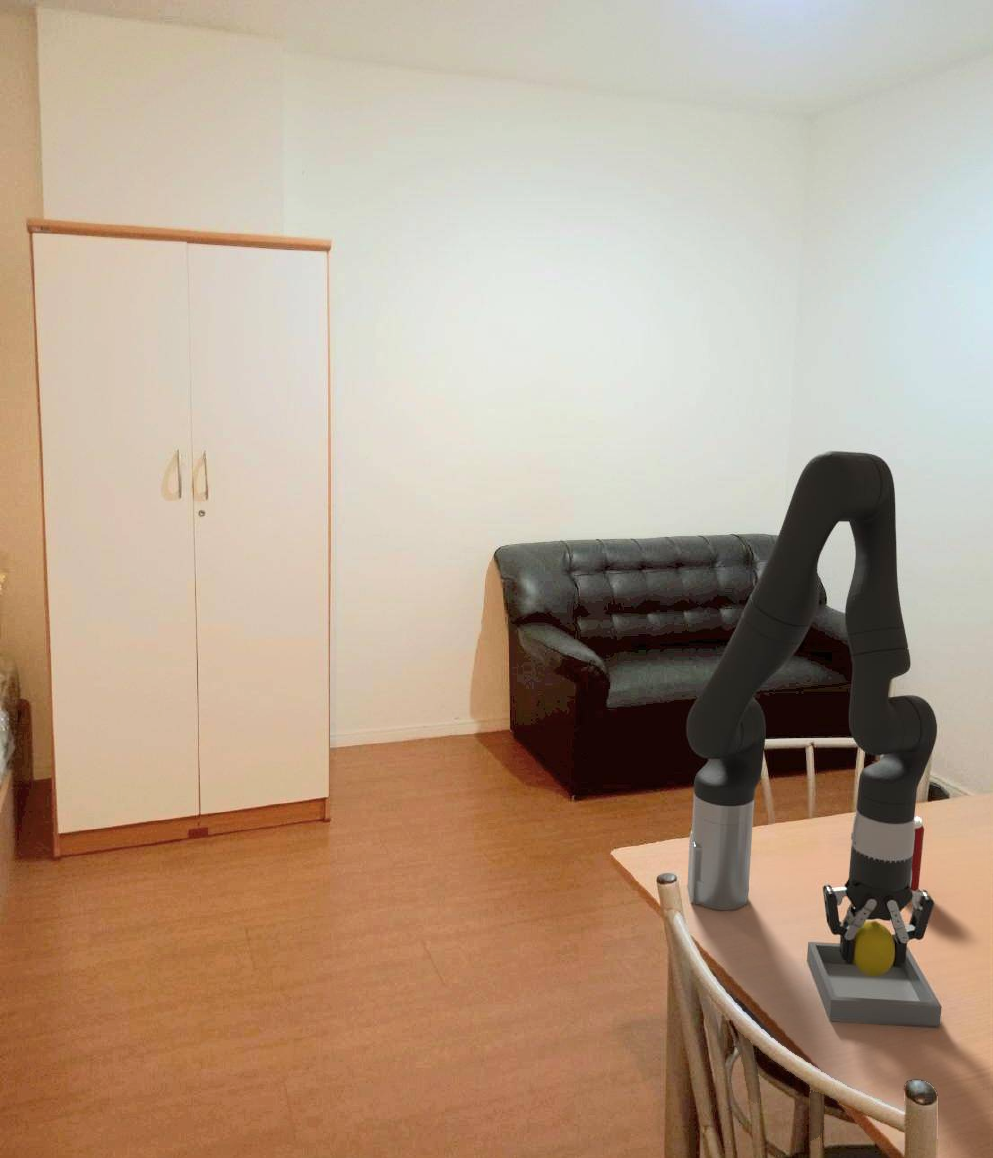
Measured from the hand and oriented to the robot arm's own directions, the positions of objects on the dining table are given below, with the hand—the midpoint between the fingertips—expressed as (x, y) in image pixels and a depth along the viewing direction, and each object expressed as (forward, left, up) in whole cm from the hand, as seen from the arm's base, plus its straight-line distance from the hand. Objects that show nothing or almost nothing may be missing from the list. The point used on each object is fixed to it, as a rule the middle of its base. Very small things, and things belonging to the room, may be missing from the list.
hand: (871, 962), depth 132 cm
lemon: (0, 0, -2) cm, 2 cm away
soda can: (+13, +30, -5) cm, 33 cm away
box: (0, 0, -4) cm, 4 cm away
